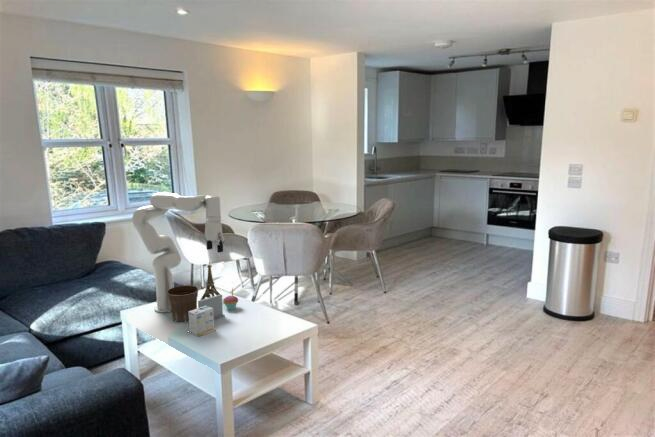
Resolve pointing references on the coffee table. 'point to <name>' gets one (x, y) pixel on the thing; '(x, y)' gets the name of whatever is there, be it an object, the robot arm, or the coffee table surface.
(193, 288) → the plant pot
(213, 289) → the eiffel tower
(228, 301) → the cupcake
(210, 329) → the coaster
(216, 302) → the screen
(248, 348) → the coffee table surface
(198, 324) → the light bulb box
